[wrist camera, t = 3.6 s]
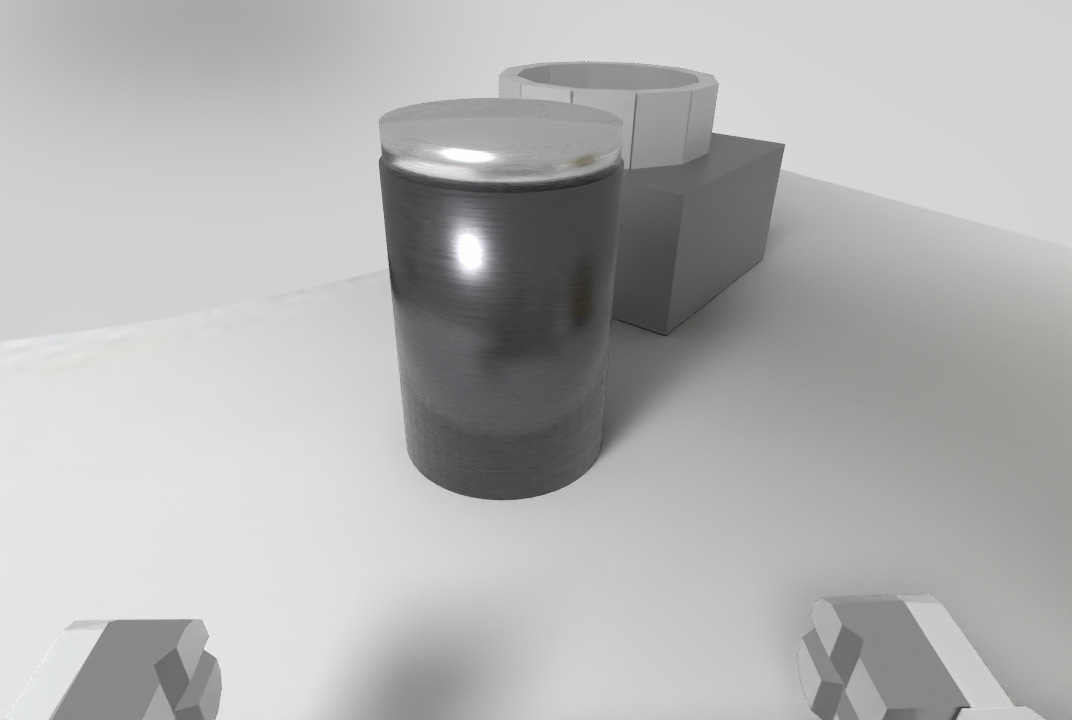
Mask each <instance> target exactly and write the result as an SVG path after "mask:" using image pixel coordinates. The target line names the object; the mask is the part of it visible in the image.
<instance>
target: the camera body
mask: <svg viewBox="0 0 1072 720" xmlns="http://www.w3.org/2000/svg"><path fill="white" fill-rule="evenodd" d="M718 84H719V83H718V82H717V80H716V79H715V78H714V76H713V75H710V74H705V73H701V72H697V71H693V70H688V69H684V68H677V67H668V66H658V65H649V64H638V63H636V64H635V63H618V62H617V63H616V62H589V61H587V62H585V61H583V62H556V63H555V62H554V63H537V64H530V65H524V66H517V67H510V68H507V69H506V70H505V71H503V72H502V73H501V74H500V75H499V98H515V99H535V100H548V101H558V102H565V103H573V104H579V105H584V106H589V107H593V108H597V109H601V110H604V111H607V112H610V113H612V114H614V115H616V116H618V117H619V118H620V119H621V120H622V121H623V123H624V127H623V140H622V152H621V158H622V159H623V160H624V175H623V187H622V199H621V212H620V224H619V236H618V248H617V260H616V272H615V284H614V296H613V308H612V318H614V319H617V320H620V321H623V322H626V323H629V324H632V325H635V326H638V327H641V328H644V329H647V330H650V331H653V332H656V333H659V334H662V335H665V336H666V335H667V334H669V333H670V332H671V331H672V330H674V329H675V328H676V327H677V326H679V325H680V324H681V323H682V322H684V321H685V320H686V319H688V318H689V317H690V316H691V315H693V314H694V313H695V312H696V311H698V310H699V309H700V308H701V307H703V306H704V305H705V304H706V303H708V302H709V301H710V300H712V299H713V298H714V297H715V296H717V295H718V294H719V293H720V292H722V291H723V290H724V289H725V288H727V287H728V286H729V285H730V284H732V283H733V282H734V281H735V280H737V279H738V278H739V277H741V276H742V275H743V274H744V273H746V272H747V271H748V270H749V269H751V268H752V267H753V266H754V265H756V264H757V263H758V262H759V261H761V260H762V258H763V253H764V248H765V243H766V238H767V233H768V228H769V223H770V218H771V213H772V208H773V202H774V197H775V192H776V187H777V182H778V177H779V172H780V167H781V162H782V157H783V152H784V147H785V144H780V143H774V142H768V141H761V140H754V139H748V138H741V137H735V136H729V135H723V134H715V133H712V127H713V119H714V113H715V106H716V99H717V92H718Z"/></svg>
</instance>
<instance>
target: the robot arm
mask: <svg viewBox="0 0 1072 720" xmlns="http://www.w3.org/2000/svg"><path fill="white" fill-rule="evenodd" d="M810 618H811V620H812V622H813V625H814V627H815V628H814V629H813V630H812V631H811V632H809V633H808V634H807V635H805V636H804V637H803V638H802V641H801V645H800V648H799V652H798V667H799V677H800V681H801V685H802V689H803V692H804V695H805V697H806V700H807V702H808V704H809V707H810V709H811V711H813V712H814V713H815V714H816V715H817V716H818V717H820V718H821V719H822V720H1046V719H1045V718H1043V717H1042V716H1040V715H1039V714H1037V713H1036V712H1035V711H1033V710H1032V709H1030V708H1029V707H1027V706H1015V705H1014V704H1013V703H1012V701H1011V700H1010V698H1009V697H1008V695H1007V694H1006V693H1005V691H1004V690H1003V688H1002V687H1001V686H1000V684H999V683H998V681H997V680H996V679H995V677H994V676H993V674H992V673H991V672H990V670H989V669H988V667H987V666H986V664H985V663H984V662H983V660H982V659H981V657H980V656H979V655H978V653H977V652H976V650H975V649H974V648H973V646H972V645H971V643H970V642H969V640H968V639H967V638H966V636H965V635H964V633H963V632H962V631H961V629H960V628H959V626H958V625H957V624H956V622H955V621H954V619H953V618H952V617H951V615H950V614H949V612H948V611H947V609H946V608H945V607H944V605H943V604H942V603H941V601H940V600H938V599H937V598H936V597H934V596H933V595H931V594H916V595H893V596H890V595H869V596H848V597H827V598H820V599H819V600H818V601H816V602H815V603H814V605H813V608H812V611H811V613H810ZM208 637H209V635H208V633H207V630H206V628H205V625H204V623H203V621H202V620H93V621H75V622H73V623H72V624H71V625H70V626H68V627H67V628H66V629H65V630H63V631H62V632H61V633H60V635H59V636H58V638H57V639H56V641H55V643H54V644H53V646H52V647H51V649H50V650H49V652H48V653H47V655H46V656H45V658H44V659H43V661H42V663H41V664H40V666H39V667H38V669H37V670H36V672H35V673H34V675H33V676H32V678H31V679H30V681H29V683H28V684H27V686H26V687H25V689H24V690H23V692H22V693H21V695H20V696H19V698H18V699H17V701H16V702H15V704H14V706H13V707H12V709H11V710H10V712H9V713H8V715H7V716H6V718H5V719H4V720H215V719H216V716H217V713H218V709H219V702H220V696H221V690H222V683H221V671H220V668H219V664H218V661H217V659H216V658H215V657H213V656H212V655H211V654H209V653H208V652H206V651H205V650H204V647H205V645H206V642H207V640H208Z"/></svg>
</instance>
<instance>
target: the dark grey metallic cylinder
mask: <svg viewBox="0 0 1072 720" xmlns="http://www.w3.org/2000/svg"><path fill="white" fill-rule="evenodd" d="M623 127H624V123H623V121H622V120H621V119H620V118H619V117H618V116H616V115H614V114H612V113H610V112H607V111H604V110H601V109H597V108H593V107H589V106H584V105H579V104H573V103H565V102H558V101H548V100H535V99H515V98H480V99H479V98H476V99H457V100H444V101H435V102H427V103H422V104H415V105H410V106H406V107H402V108H398V109H396V110H393V111H390V112H388V113H386V114H384V115H383V116H382V117H381V118H380V120H379V128H380V138H381V149H382V156H381V158H380V159H379V169H380V180H381V189H382V200H383V210H384V219H385V230H386V241H387V251H388V261H389V271H390V281H391V291H392V301H393V312H394V322H395V332H396V342H397V352H398V362H399V372H400V382H401V393H402V403H403V413H404V423H405V433H406V443H407V450H408V454H409V457H410V459H411V460H412V462H413V464H414V465H415V467H416V468H417V469H418V470H419V471H420V472H421V473H422V474H423V475H424V476H425V477H426V478H427V479H429V480H431V481H432V482H434V483H435V484H437V485H439V486H441V487H443V488H445V489H447V490H450V491H452V492H455V493H458V494H461V495H465V496H470V497H474V498H481V499H490V500H516V499H524V498H531V497H535V496H540V495H544V494H547V493H550V492H553V491H556V490H558V489H560V488H562V487H565V486H567V485H569V484H570V483H572V482H574V481H575V480H577V479H578V478H579V477H581V476H582V475H583V474H584V473H586V472H587V470H588V469H589V468H590V467H591V466H592V465H593V463H594V462H595V460H596V459H597V457H598V454H599V452H600V448H601V441H602V429H603V417H604V405H605V393H606V381H607V369H608V357H609V344H610V332H611V320H612V308H613V296H614V284H615V272H616V260H617V248H618V236H619V224H620V212H621V199H622V187H623V175H624V160H623V159H622V158H621V152H622V140H623Z"/></svg>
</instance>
